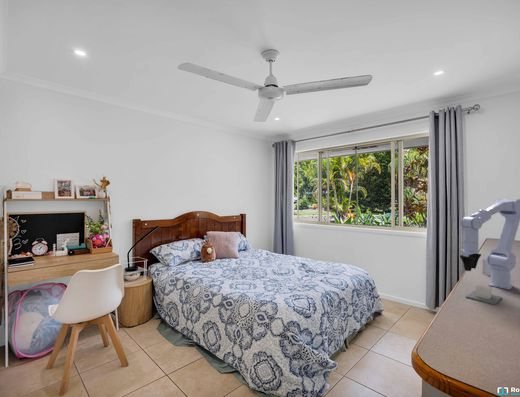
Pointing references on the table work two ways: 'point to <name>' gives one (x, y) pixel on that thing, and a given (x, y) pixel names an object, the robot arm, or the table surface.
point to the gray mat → (492, 300)
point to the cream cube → (483, 291)
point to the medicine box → (486, 268)
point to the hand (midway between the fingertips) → (470, 269)
